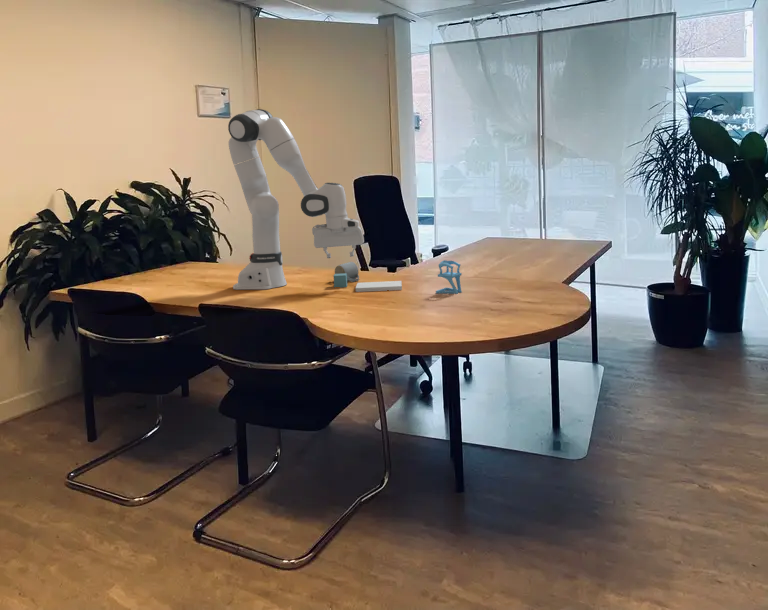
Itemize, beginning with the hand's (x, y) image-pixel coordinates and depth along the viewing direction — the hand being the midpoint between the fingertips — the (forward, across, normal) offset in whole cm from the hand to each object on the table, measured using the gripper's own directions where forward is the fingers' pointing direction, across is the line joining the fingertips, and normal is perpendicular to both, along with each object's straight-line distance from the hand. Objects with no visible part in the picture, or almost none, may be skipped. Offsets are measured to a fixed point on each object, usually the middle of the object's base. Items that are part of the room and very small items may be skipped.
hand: (340, 257), depth 264 cm
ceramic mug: (+12, +1, +14) cm, 18 cm away
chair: (+13, +42, -23) cm, 50 cm away
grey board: (+12, +15, -8) cm, 21 cm away
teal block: (+12, -1, 0) cm, 12 cm away
